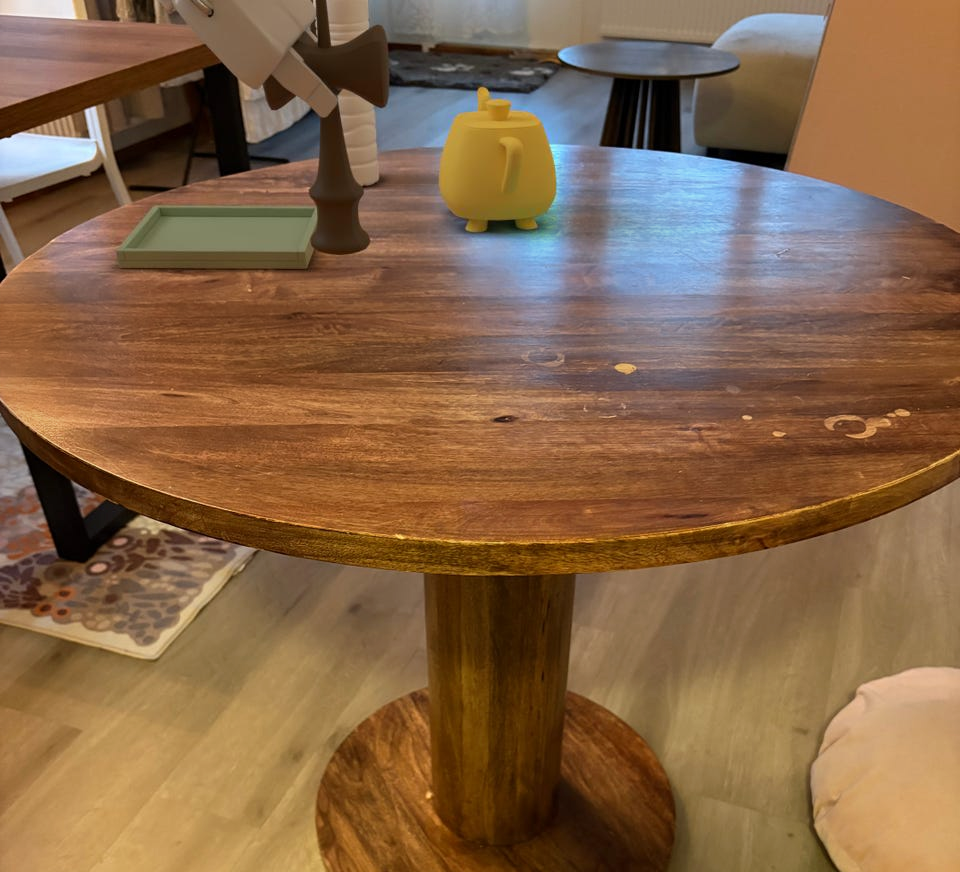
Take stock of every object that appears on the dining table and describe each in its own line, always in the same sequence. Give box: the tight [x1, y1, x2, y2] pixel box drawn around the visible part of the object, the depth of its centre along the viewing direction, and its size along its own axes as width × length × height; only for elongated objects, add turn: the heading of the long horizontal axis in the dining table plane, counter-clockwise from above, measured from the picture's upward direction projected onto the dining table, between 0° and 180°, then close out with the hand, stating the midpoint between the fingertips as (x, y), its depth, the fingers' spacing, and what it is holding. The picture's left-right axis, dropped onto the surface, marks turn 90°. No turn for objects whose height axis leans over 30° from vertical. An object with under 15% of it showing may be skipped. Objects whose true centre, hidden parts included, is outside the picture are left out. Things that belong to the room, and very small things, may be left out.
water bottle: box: [312, 0, 380, 187], centre depth 112 cm, size 9×6×25 cm
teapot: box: [438, 86, 558, 233], centre depth 105 cm, size 13×20×12 cm
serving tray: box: [115, 204, 317, 270], centre depth 101 cm, size 20×16×2 cm
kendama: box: [262, 0, 390, 256], centre depth 73 cm, size 6×10×20 cm, turn 92°
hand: (337, 99), depth 72 cm, fingers closed on kendama, 5 cm apart
